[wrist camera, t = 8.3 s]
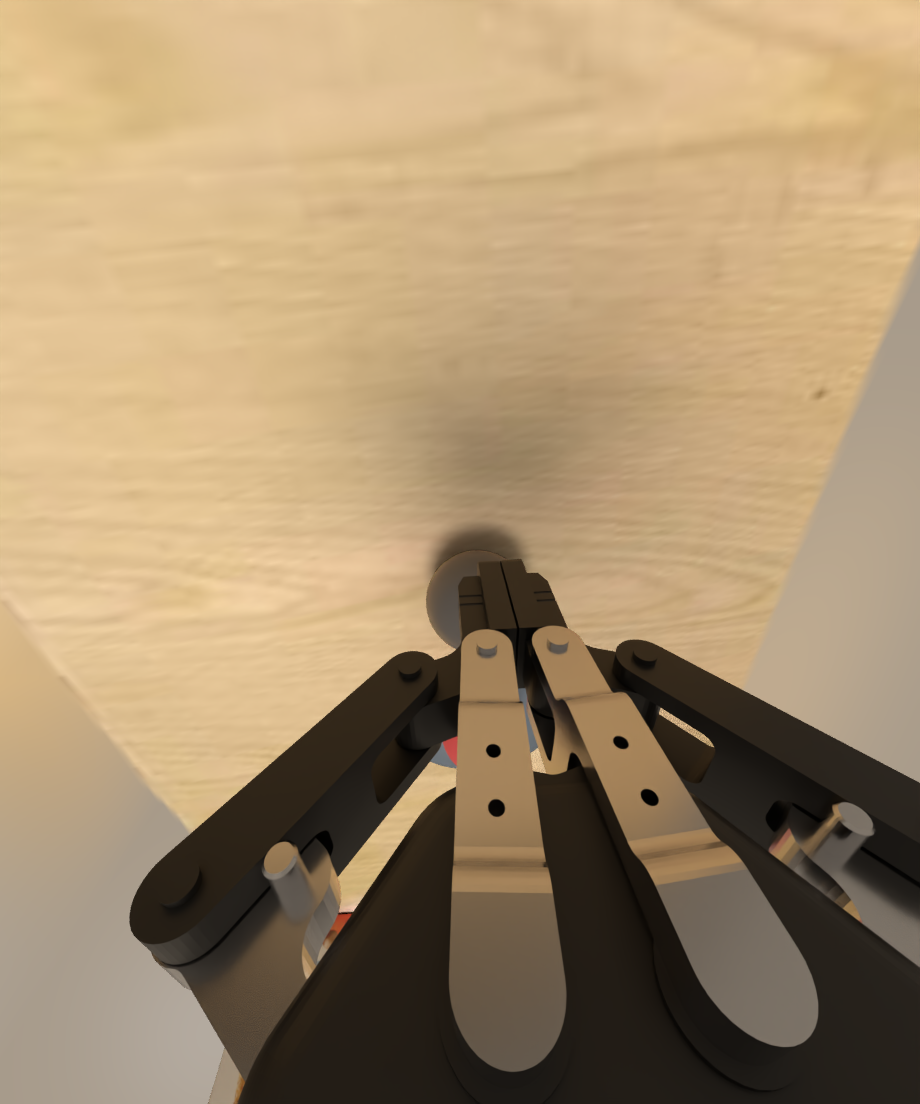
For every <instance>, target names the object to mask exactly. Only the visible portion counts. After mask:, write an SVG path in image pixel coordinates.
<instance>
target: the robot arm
mask: <svg viewBox="0 0 920 1104" xmlns="http://www.w3.org/2000/svg"><path fill="white" fill-rule="evenodd" d="M458 603H459V626H460V639H461V644H460V646H459V647H458V648H457V649H456V650H455V651H454V652H453V653H451V654H450V655H448V656H445V657H443V658H440V659H437V660H434V659H433V658H432V657H431V656H429V655H428V654H426V653H423V652H418V651H409V652H404V653H401V654H398V655H396V656H395V657H393V658H392V659H390V660H389V661H388V662H387V663H386V664H385V665H384V666H382V667H381V668H380V669H379V670H378V671H377V672H375V673H374V674H373V675H372V676H371V677H370V678H369V679H367V680H366V681H365V682H364V683H363V684H362V685H361V686H359V687H358V688H357V689H356V690H355V691H354V692H353V693H351V694H350V695H349V696H348V697H347V698H346V699H345V700H343V701H342V702H341V703H340V704H339V705H338V706H337V707H335V708H334V709H333V710H332V711H331V712H330V713H328V714H327V715H326V716H325V717H324V718H323V719H322V720H320V721H319V722H318V723H317V724H316V725H315V726H314V727H312V728H311V729H310V730H309V731H308V732H307V733H306V734H304V735H303V736H302V737H301V738H300V739H299V740H298V741H296V742H295V743H294V744H293V745H292V746H291V747H290V748H288V749H287V750H286V751H285V752H284V753H283V754H281V755H280V756H279V757H278V758H277V759H276V760H275V761H273V762H272V763H271V764H270V765H269V766H268V767H267V768H265V769H264V770H263V771H262V772H261V773H260V774H259V775H257V776H256V777H255V778H254V779H253V780H252V781H251V782H249V783H248V784H247V785H246V786H245V787H244V788H242V789H241V790H240V791H239V792H238V793H237V794H236V795H234V796H233V797H232V798H231V799H230V800H229V801H228V802H226V803H225V804H224V805H223V806H222V807H221V808H220V809H218V810H217V811H216V812H215V813H214V814H213V815H212V816H210V817H209V818H208V819H207V820H206V821H205V822H204V823H202V824H201V825H200V826H199V827H198V828H197V829H195V830H194V831H193V832H192V833H191V834H190V835H189V836H188V837H186V838H185V839H184V840H183V841H182V842H181V843H179V844H178V845H177V846H176V847H175V848H174V849H173V850H171V851H170V852H169V853H168V854H167V855H166V856H165V857H164V858H162V859H161V860H160V861H159V862H158V863H157V864H156V865H155V866H154V867H153V868H152V870H151V871H150V872H149V873H148V875H147V876H146V877H145V879H144V880H143V882H142V883H141V885H140V887H139V888H138V890H137V892H136V895H135V897H134V899H133V902H132V905H131V910H130V927H131V931H132V933H133V934H134V936H135V937H136V938H137V939H138V940H139V941H140V942H141V943H142V944H143V945H144V946H145V947H147V948H148V949H149V950H150V951H151V953H152V956H153V958H154V959H155V961H156V962H157V963H158V964H159V965H160V966H161V967H162V968H164V969H165V970H166V971H167V972H168V973H169V974H170V975H171V976H172V977H174V978H175V979H176V980H177V981H178V982H179V983H180V984H181V985H182V986H183V987H185V988H187V989H189V990H192V992H193V994H194V995H195V997H196V999H197V1001H198V1002H199V1004H200V1006H201V1008H202V1009H203V1011H204V1013H205V1014H206V1016H207V1018H208V1020H209V1021H210V1023H211V1025H212V1026H213V1028H214V1030H215V1031H216V1033H217V1035H218V1037H219V1038H220V1040H221V1042H222V1043H223V1045H224V1047H225V1049H226V1050H227V1052H228V1054H229V1056H230V1057H231V1059H232V1061H233V1062H234V1064H235V1066H236V1067H237V1069H238V1071H239V1073H240V1074H241V1076H242V1078H243V1079H244V1081H245V1084H244V1086H243V1089H242V1092H241V1094H240V1097H239V1100H238V1103H237V1104H920V783H919V782H917V781H915V780H913V779H911V778H909V777H907V776H906V775H904V774H902V773H900V772H898V771H896V770H894V769H892V768H890V767H888V766H886V765H884V764H883V763H881V762H879V761H877V760H875V759H873V758H871V757H869V756H867V755H865V754H863V753H862V752H859V751H858V750H856V749H854V748H852V747H850V746H848V745H846V744H844V743H842V742H841V741H839V740H837V739H835V738H833V737H831V736H829V735H827V734H825V733H823V732H822V731H819V730H818V729H816V728H814V727H812V726H810V725H808V724H806V723H804V722H802V721H801V720H798V719H797V718H795V717H793V716H791V715H789V714H787V713H785V712H783V711H781V710H780V709H777V708H776V707H774V706H772V705H770V704H768V703H766V702H764V701H762V700H760V699H759V698H757V697H755V696H753V695H751V694H749V693H747V692H745V691H743V690H741V689H739V688H738V687H736V686H734V685H732V684H730V683H728V682H726V681H724V680H722V679H720V678H718V677H717V676H715V675H713V674H711V673H709V672H707V671H705V670H703V669H701V668H699V667H697V666H696V665H694V664H692V663H690V662H688V661H686V660H684V659H682V658H680V657H678V656H676V655H675V654H673V653H671V652H669V651H667V650H665V649H663V648H661V647H659V646H657V645H655V644H653V643H650V642H647V641H643V640H628V641H624V642H622V643H621V644H619V646H618V647H617V649H616V652H614V651H608V650H603V649H597V648H593V647H590V646H587V645H585V644H584V642H583V641H582V639H581V638H580V636H579V635H578V634H576V633H575V632H574V631H572V630H570V629H568V627H567V625H566V623H565V621H564V618H563V616H562V614H561V611H560V609H559V607H558V604H557V602H556V601H555V597H554V595H553V593H552V590H551V588H550V586H549V583H548V581H547V580H546V579H544V578H543V577H542V576H541V575H540V574H538V573H526V570H525V567H524V564H523V562H522V560H521V559H517V560H500V562H499V561H478V562H477V576H466V577H463V578H462V580H461V581H460V583H459V585H458ZM521 688H525V689H526V694H527V705H526V710H527V714H528V717H529V721H530V724H531V727H532V730H533V733H534V736H535V739H536V742H537V745H538V748H539V751H540V754H541V758H542V761H543V764H544V767H545V770H546V774H545V773H540V772H535V771H533V769H532V761H531V754H530V747H529V740H528V732H527V725H526V718H525V711H524V705H523V702H522V701H520V700H519V693H518V689H521ZM660 708H662V709H664V710H666V711H667V712H669V713H670V714H672V715H674V716H675V717H677V718H678V719H680V720H682V721H683V722H685V723H686V724H688V725H690V726H691V727H693V728H694V729H696V730H698V731H699V732H701V733H702V734H704V735H705V736H706V737H708V738H709V740H710V741H711V742H712V743H713V745H714V748H713V747H711V746H708V745H707V744H705V743H703V742H702V741H700V740H699V739H697V738H695V737H694V736H692V735H691V734H689V733H688V732H686V731H685V730H683V729H681V728H680V727H678V726H677V725H675V724H674V723H672V722H670V721H669V720H667V719H666V718H664V717H663V716H661V715H659V711H660ZM456 736H458V741H457V773H456V787H454V788H453V789H451V790H449V791H447V792H445V793H444V794H442V795H441V796H439V797H438V798H436V799H435V800H434V801H433V802H432V803H431V804H430V805H428V807H427V808H426V809H425V810H424V811H423V812H422V813H421V814H420V816H419V817H418V818H417V820H416V821H415V823H414V824H413V826H412V827H411V828H410V830H409V831H408V833H407V834H406V836H405V837H404V839H403V840H402V842H401V843H400V845H399V846H398V847H397V849H396V850H395V852H394V853H393V855H392V856H391V858H390V859H389V861H388V862H387V864H386V865H385V866H384V868H383V869H382V871H381V872H380V874H379V875H378V877H377V878H376V880H375V881H374V882H373V884H372V885H371V887H370V888H369V890H368V891H367V893H366V894H365V896H364V897H363V899H362V900H361V901H360V903H359V904H358V906H357V907H356V909H355V910H354V912H353V913H352V915H351V916H350V918H349V919H348V920H347V922H346V923H345V925H344V926H343V928H342V929H341V931H340V932H339V934H338V935H337V937H336V938H335V939H334V941H333V942H332V944H331V945H330V947H329V948H328V950H327V951H326V953H325V954H324V955H323V957H322V958H321V960H320V961H319V963H318V964H317V960H318V955H319V952H320V949H321V946H322V944H323V942H324V940H325V938H326V936H327V934H328V933H329V931H330V929H331V927H332V926H333V924H334V922H335V920H336V917H337V915H338V912H339V908H340V903H341V887H340V883H339V880H338V876H339V875H340V874H341V872H342V871H343V870H344V869H345V867H346V866H347V865H348V864H349V862H350V861H351V860H352V858H353V857H354V856H355V855H356V853H357V852H358V851H359V850H360V848H361V847H362V846H363V845H364V843H365V842H366V841H367V840H368V838H369V837H370V836H371V835H372V833H373V832H374V831H375V830H376V828H377V827H378V826H379V825H380V823H381V822H382V821H383V820H384V818H385V817H386V816H387V815H388V813H389V812H390V811H391V810H392V808H393V807H394V806H395V805H396V803H397V802H398V801H399V800H400V798H401V797H402V796H403V795H404V793H405V792H406V791H407V790H408V788H409V787H410V786H411V785H412V783H413V782H414V781H415V780H416V778H417V777H418V776H419V775H420V773H421V772H422V771H423V770H424V768H425V767H426V766H427V765H428V763H429V762H430V761H431V760H432V758H433V757H434V756H435V755H436V753H437V752H438V751H439V749H440V747H441V744H442V742H444V741H446V740H449V739H451V738H454V737H456ZM316 965H317V966H316Z"/></svg>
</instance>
